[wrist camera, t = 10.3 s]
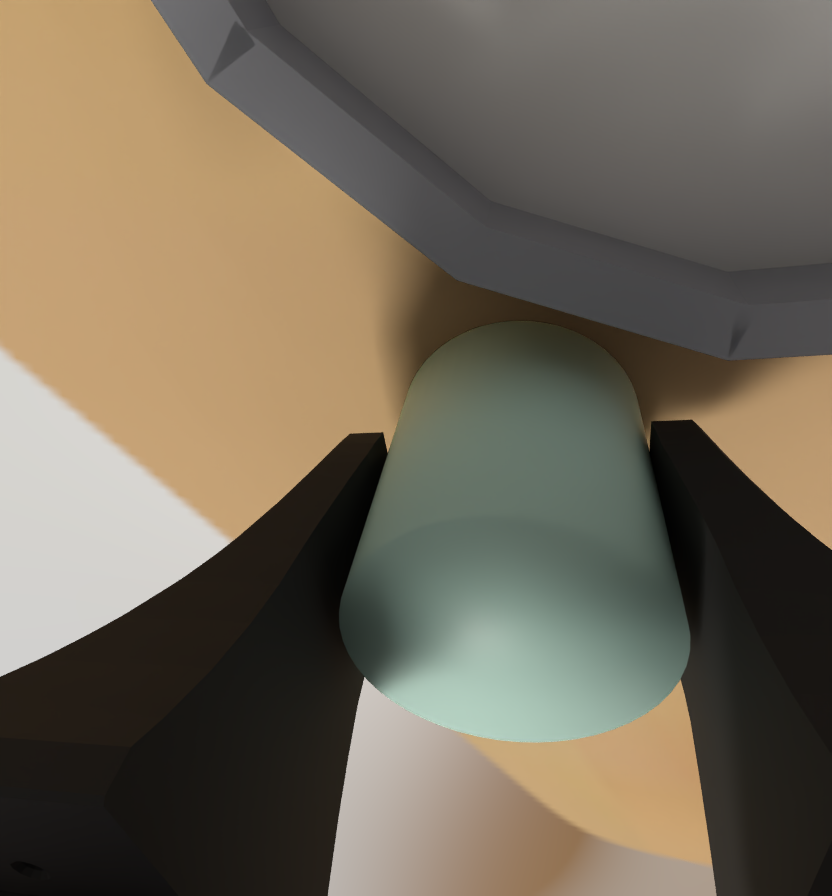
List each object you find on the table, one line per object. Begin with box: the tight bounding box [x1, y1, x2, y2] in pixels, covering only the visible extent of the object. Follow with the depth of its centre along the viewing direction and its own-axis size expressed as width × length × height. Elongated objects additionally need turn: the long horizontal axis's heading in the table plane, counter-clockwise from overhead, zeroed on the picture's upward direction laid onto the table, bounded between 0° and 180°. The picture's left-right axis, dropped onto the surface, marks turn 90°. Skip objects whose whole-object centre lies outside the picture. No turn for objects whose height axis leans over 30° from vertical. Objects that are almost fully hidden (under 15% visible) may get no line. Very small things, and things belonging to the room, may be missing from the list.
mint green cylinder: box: [339, 321, 690, 742], centre depth 10 cm, size 4×4×5 cm
